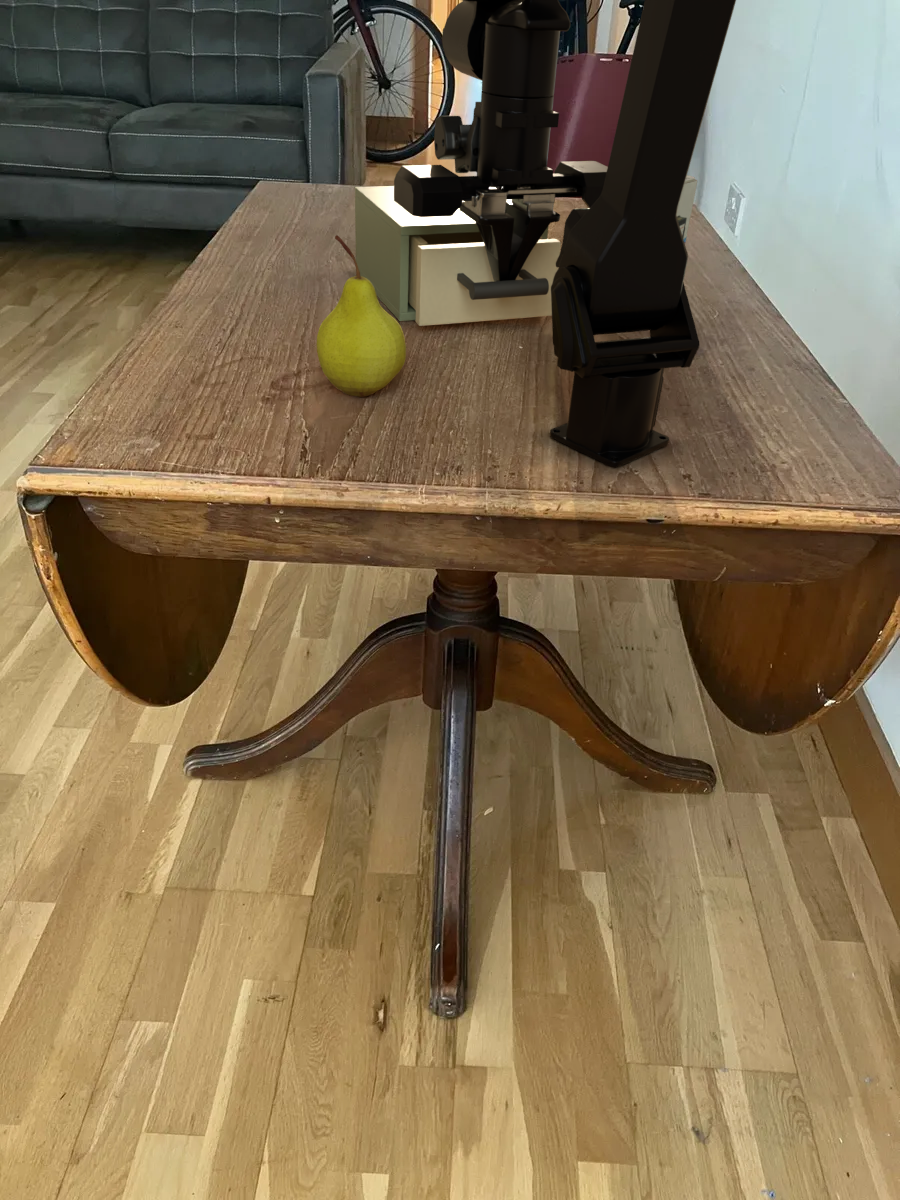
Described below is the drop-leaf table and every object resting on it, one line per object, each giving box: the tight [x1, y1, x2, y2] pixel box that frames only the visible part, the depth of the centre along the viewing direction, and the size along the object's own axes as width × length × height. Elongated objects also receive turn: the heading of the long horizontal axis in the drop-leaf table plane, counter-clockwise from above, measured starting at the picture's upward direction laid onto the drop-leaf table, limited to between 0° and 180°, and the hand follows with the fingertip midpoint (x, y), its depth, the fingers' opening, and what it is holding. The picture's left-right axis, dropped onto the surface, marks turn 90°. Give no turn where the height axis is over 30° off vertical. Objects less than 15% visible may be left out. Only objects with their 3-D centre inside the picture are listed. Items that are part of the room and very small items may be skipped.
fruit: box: [316, 234, 407, 398], centre depth 71 cm, size 7×7×12 cm
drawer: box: [408, 232, 562, 327], centre depth 89 cm, size 19×13×7 cm
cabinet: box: [354, 185, 550, 322], centre depth 94 cm, size 16×15×9 cm
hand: (502, 291), depth 83 cm, fingers closed, pressing on drawer
